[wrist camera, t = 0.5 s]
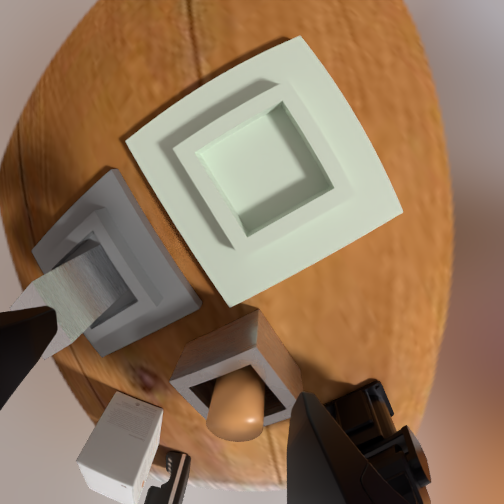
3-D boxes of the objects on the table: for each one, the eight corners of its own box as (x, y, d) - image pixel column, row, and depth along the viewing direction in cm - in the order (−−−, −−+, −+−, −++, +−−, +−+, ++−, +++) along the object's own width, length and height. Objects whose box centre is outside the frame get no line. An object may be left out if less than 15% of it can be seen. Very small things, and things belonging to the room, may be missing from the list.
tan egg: (273, 384, 20) (273, 433, 15) (234, 398, 21) (227, 445, 16) (249, 352, 19) (243, 402, 15) (208, 369, 20) (194, 416, 15)
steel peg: (130, 287, 20) (72, 342, 13) (99, 307, 21) (44, 360, 13) (102, 243, 19) (32, 281, 12) (73, 267, 20) (9, 308, 12)
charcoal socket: (202, 302, 21) (194, 318, 19) (106, 351, 24) (94, 366, 21) (117, 168, 19) (100, 169, 16) (37, 247, 21) (21, 255, 19)
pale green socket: (397, 210, 18) (413, 215, 16) (231, 301, 21) (227, 318, 19) (298, 41, 15) (302, 25, 13) (131, 142, 18) (114, 139, 16)
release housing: (300, 370, 23) (305, 411, 18) (232, 396, 24) (225, 437, 19) (259, 308, 21) (256, 346, 16) (186, 343, 22) (168, 381, 18)
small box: (116, 388, 25) (74, 459, 15) (165, 408, 25) (133, 487, 15) (118, 427, 27) (87, 488, 17) (159, 443, 27) (135, 509, 17)
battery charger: (162, 445, 27) (136, 517, 17) (191, 453, 27) (172, 528, 17) (163, 468, 29) (142, 530, 18) (189, 475, 29) (173, 539, 18)
